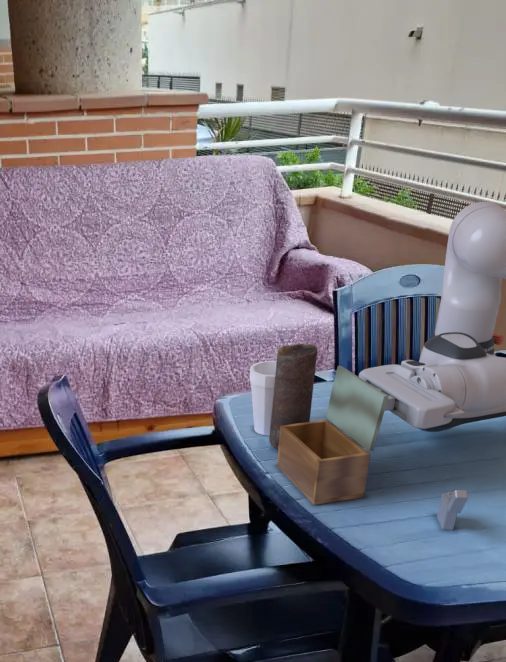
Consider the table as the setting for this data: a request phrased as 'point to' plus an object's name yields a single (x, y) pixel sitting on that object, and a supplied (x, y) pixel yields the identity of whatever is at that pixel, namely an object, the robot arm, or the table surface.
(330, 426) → the box
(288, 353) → the dark brown rough cylinder
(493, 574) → the table surface
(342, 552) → the table surface
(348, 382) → the pale green flat panel
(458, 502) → the lighter
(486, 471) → the table surface
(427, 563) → the table surface
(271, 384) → the foam cup
